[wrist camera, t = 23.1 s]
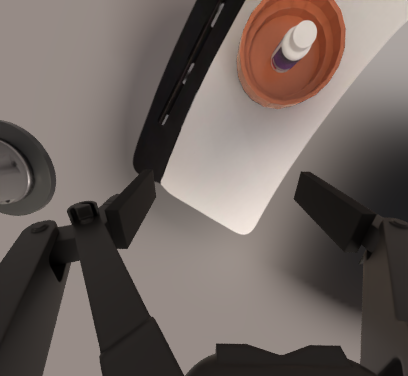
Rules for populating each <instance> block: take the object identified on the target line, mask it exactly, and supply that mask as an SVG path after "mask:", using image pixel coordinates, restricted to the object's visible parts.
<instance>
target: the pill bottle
mask: <svg viewBox="0 0 408 376" xmlns="http://www.w3.org/2000/svg"><path fill="white" fill-rule="evenodd" d="M316 36H317V28H316V25H315V24H314V23H313V22H312V21H309V20H305V21H302V22H300V23H299V24H298V25H297V26H294V27H292V28H291V29H290V30H289V31H288V32H287V33H286V34H285V36H284V37H283V38H282V40H281V41H280V43H279V44H278V46H277V47H276V49H275V50H274V52H273V54H272V56H271V65H272V68H273V69H274V70H275V71H276V72H279V73H284V72H287V71H288V70H290V69H291V68H292V67H293V66H294V65H295V64H296V63H297V62H299V61H300V60H301V59H302V58H303V57H304V56H305V55H306V54H307V53H308V51H309V50H310V48H311V45H312V43H313V42H314V41H315V39H316Z"/></svg>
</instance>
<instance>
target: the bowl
mask: <svg viewBox="0 0 408 376" xmlns="http://www.w3.org/2000/svg"><path fill="white" fill-rule="evenodd" d="M305 20H309V21H312V22H313V23H314V24H315V25H316V28H317V36H316V39H315V41H314V42H313V43H312V45H311V48H310V50H309V51H308V53H307V54H306V55H305V56H304V57H303V58H302V59H301V60H300V61H299V62H297V63H296V64H295V65H294V66H293V67H292V68H291V69H290V70H288V71H287V72H284V73H279V72H276V71H275V70H274V69H273V68H272V65H271V56H272V54H273V52H274V50H275V49H276V47H277V46H278V44H279V43H280V41H281V40H282V38H283V37H284V36H285V34H286V33H287V32H288V31H289V30H290V29H291V28H292V27H294V26H297V25H298V24H299V23H300V22H302V21H305ZM345 30H346V28H345V24H344V20H343V16H342V12H341V10H340V8H339V7H338V5H337V4H336V2H335V1H334V0H262V1H261V3H260V4H259V5H258V6H257V7H256V8H255V10H254V11H253V12H252V13H251V15H250V17H249V19H248V22H247V24H246V26H245V28H244V30H243V33H242V36H241V40H240V43H239V49H238V54H237V71H238V77H239V80H240V82H241V84H242V87H243V89H244V91H245V92H246V93H247V94H248V95H249V97H250V98H251V99H252V100H253V101H255V102H257V103H258V104H260V105H262V106H264V107H269V108H275V109H280V108H285V107H291V106H293V105H296V104H298V103H301V102H303V101H304V100H306V99H308V98H310V97H312V96H314V95H316V94H317V93H318V92H319V91H320V90H321V89H322V88H323V87H324V86H325V85H326V84H327V83H328V82H329V81H330V79H331V78H332V76H333V74H334V73H335V71H336V70H337V68H338V66H339V64H340V61H341V58H342V55H343V51H344V48H345Z"/></svg>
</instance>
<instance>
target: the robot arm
mask: <svg viewBox="0 0 408 376" xmlns="http://www.w3.org/2000/svg"><path fill="white" fill-rule="evenodd" d="M33 187H34V172H33V169H32V166H31V164H30V162H29V160H28V159H27V157H26V156H25V155H24V154H23V152H22V151H21V150H19V149H18V148H17V147H16V146H15V145H13V144H11V143H10V142H8V141H6V140H3V139H0V204H8V203H13V202H17V201H20V200H23V199H24V198H26V197H27V196H28V195H29V194H30V193H31V191H32V190H33ZM155 198H156V192H155V184H154V176H153V170H146V169H144V170H143V171H142V172H141V173H140V174H139V175H138V176H137V177H136V178H135V179H134V180H133V181H132V182H131V183H130V185H128V187H126V188H125V189H124V191H123V192H122V193H121V194H116V195H114V196H112V197H110V198H109V199H108V200H107V201H106V202H105V203H104V204H103V205H102V206H100V207H99V208H98V207H97V203H96V202H94V201H84V202H79V203H76V204H74V205H72V206H70V207H69V208H68V210H67V213H68V216H69V218H70V221H71V223H72V225H69V226H63V227H57V224H56V222H55V221H51V220H47V221H42V222H37V223H35V224H32V225H31V226H29V227H27V228H26V229H25V230H23V231H22V233H21V234H20V236H19V237H18V239H17V240H16V241H15V243H14V244H13V246H12V247H11V249H10V250H9V251H8V253H7V254H6V256H5V257H4V258H3V260H2V262H1V263H0V376H42V375H43V371H44V367H45V363H46V360H47V355H48V351H49V347H50V344H51V340H52V335H53V332H54V328H55V324H56V320H57V316H58V312H59V308H60V304H61V300H62V296H63V292H64V288H65V285H66V280H67V277H68V273H69V268H70V265H71V262H75V261H79V260H80V262H81V267H82V271H83V276H84V280H85V285H86V289H87V293H88V298H89V302H90V307H91V311H92V316H93V320H94V325H95V329H96V333H97V338H98V342H99V346H100V353H101V354H100V364H101V370H102V375H103V376H184V374H183V373H182V371H181V369H180V367H179V365H178V363H177V361H176V359H175V357H174V355H173V353H172V351H171V349H170V347H169V345H168V343H167V342H166V340H165V338H164V336H163V334H162V332H161V330H160V328H159V326H158V324H157V322H156V320H155V319H154V318H153V317H151V316H150V315H149V313H148V311H147V309H146V307H145V305H144V303H143V301H142V299H141V297H140V295H139V293H138V291H137V289H136V287H135V285H134V283H133V281H132V279H131V277H130V275H129V273H128V271H127V269H126V267H125V265H124V263H123V261H122V259H121V257H120V255H119V253H118V251H117V249H128V247H129V245H130V243H131V241H132V240H133V238H134V236H135V234H136V232H137V231H138V229H139V227H140V225H141V223H142V222H143V220H144V218H145V216H146V214H147V213H148V211H149V209H150V207H151V205H152V203H153V201H154V200H155ZM294 200H295V201H296V202H297V203H298V204H299V205H300V206H301V207H302V208H303V209H304V210H305V211H306V212H307V214H308V215H310V217H311V218H312V219H313V220H314V221H315V222H316V223H317V224H318V225H319V226H320V227H321V228H322V229H323V230H324V231H325V232H326V234H327V235H328V236H329V237H330V238H331V239H332V240H333V241H334V242H335V243H336V244H337V245H338V246H339V247H340V248H341V249H342V250H343V251H344V252H357V251H358V249H359V248H360V246H361V244H362V245H363V246H364V247H365V248H366V251H365V253H364V255H363V256H362V258H361V260H360V262H359V264H362V263H363V294H362V296H363V297H362V298H363V299H362V331H361V359H360V364H358V363H356V362H354V361H352V360H349V359H347V358H346V355H345V354H344V352H343V350H342V349H341V347H340V346H321V345H317V346H316V345H309V346H306V347H304V348H301V349H298V350H296V351H293V352H290V353H288V354H285V355H278V354H275V353H271V352H269V351H265V350H263V349H260V348H257V347H254V346H251V345H248V344H216V353H215V354H213V355H211V356H208V357H206V358H205V359H203V360H201V361H200V362H198V363H197V364H196V365H195V366H194V367H193V368H192V369H191V370H190V371H189V372H188V373H187V374H186V375H185V376H408V223H407V222H405V221H402V220H399V219H395V218H383V217H381V216H379V215H378V214H376V213H375V212H373V211H371V210H370V209H368V208H367V207H365V206H363V205H361V204H360V203H359V202H357V201H356V200H354V199H352V198H350V197H349V196H347V195H346V194H344V193H343V192H341V191H339V190H338V189H336V188H335V187H333V186H331V185H330V184H328V183H327V182H325V181H323V180H322V179H320V178H319V177H317V176H315V175H314V174H312V173H311V172H301V174H300V177H299V181H298V185H297V189H296V192H295V196H294Z"/></svg>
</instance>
